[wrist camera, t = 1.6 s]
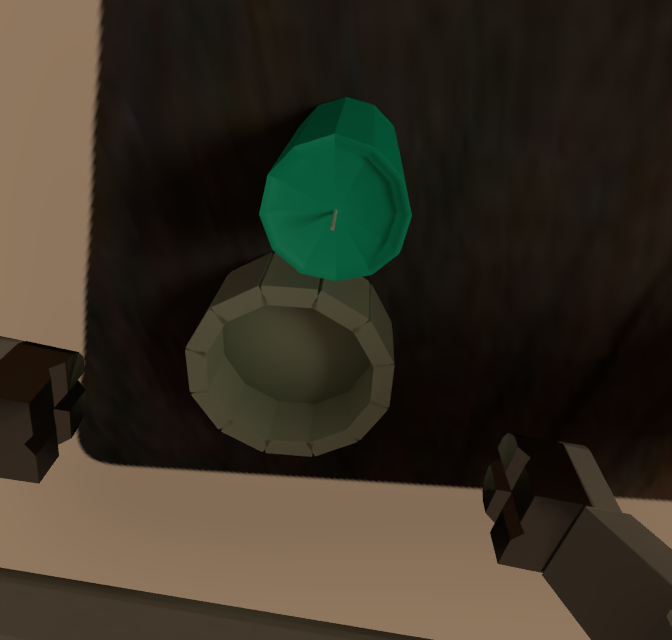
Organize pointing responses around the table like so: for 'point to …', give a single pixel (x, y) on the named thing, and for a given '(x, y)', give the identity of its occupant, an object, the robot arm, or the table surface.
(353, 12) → the table surface
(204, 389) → the dish
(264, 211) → the candle
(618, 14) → the table surface
